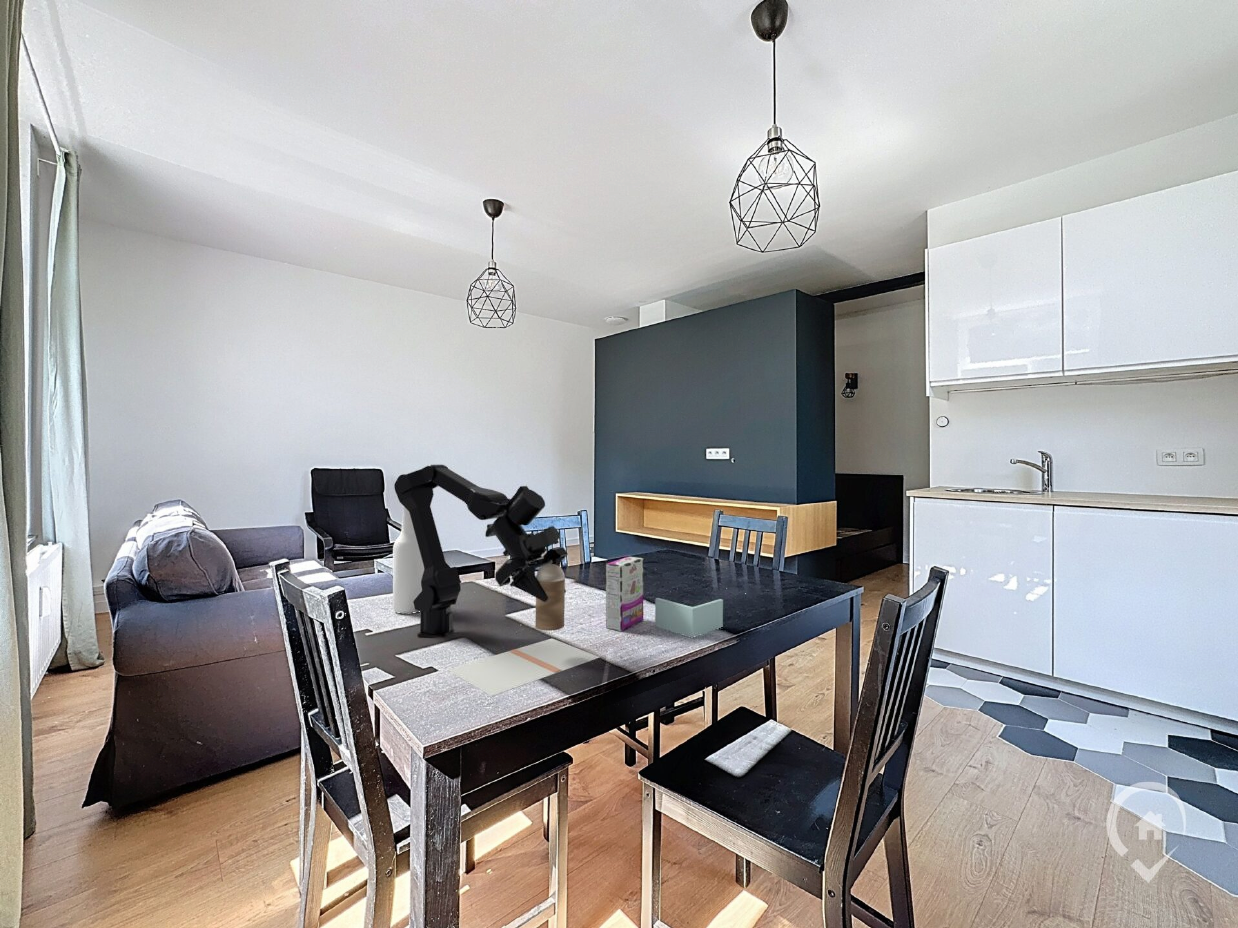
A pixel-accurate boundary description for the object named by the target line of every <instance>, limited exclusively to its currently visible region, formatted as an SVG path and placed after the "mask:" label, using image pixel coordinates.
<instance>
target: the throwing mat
mask: <svg viewBox="0 0 1238 928" xmlns="http://www.w3.org/2000/svg"><path fill="white" fill-rule="evenodd" d="M598 658H599V659H600V658H601V657H600V656H599V655H595V654H592V653H590V652H588V651H585V650H582V649H580V648H577V647H575V646H573V645H570V644H567V643H565V642H563V641H560V640H557V639H554V638H549V639H545V640H541V641H537V642H536V643H532V644H528V645H525V646H521V647H518V648H514V649H511V650H508V651H505V652H501V653H498V654H494V655H492V656H488V657H484V658H481V659H479V660H475V661H471V662H468V663H465V664H461V665H458V666H455V667H451V668H448V669H446V670H447V671H448V672H450V673H452V674H453V675H455V676H457V677H458V678H460V679H462V680H463V681H465V682H467V683H469V684H471V686H474V687H476V688H477V689H478V690H481V691H482V692H484V693H485V694H487V695H489V696H490V697H494V696H496V695H499V694H502V693H504V692H508V691H509V690H510V691H511V690H514V689H515V688H518V687H521V686H524V685H527V684H529V683H532V682H535V681H538V680H541V679H543V678H545V677H550V676H553V675H554V674H558V673H560V672H563V671H567V670H569V669H572V668H575V667H577V666H579V665H582V664H585V663H588V662H591V661H594V660H596V659H598Z"/></svg>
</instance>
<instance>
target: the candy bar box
mask: <svg viewBox="0 0 1238 928" xmlns="http://www.w3.org/2000/svg"><path fill="white" fill-rule="evenodd" d="M643 620H644V558H642V557H637V556H626V557H623V558H620V559H618V560H613V561H611V562H610V561H609V562H607V563H606V564H605V628H606V629H608V630H612V631H618V632H624V631H625V630H628V629H629V628H631V627H633V626H635V625H637V624H638V623H641V622H643Z"/></svg>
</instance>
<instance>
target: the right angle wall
mask: <svg viewBox="0 0 1238 928" xmlns="http://www.w3.org/2000/svg"><path fill="white" fill-rule="evenodd" d="M654 603H655V607H654V609H655V612H654V619H655V620H654V626H655V627H657V628H660V629H663V630H665V629H666V631H669V630H670V632H672V633H675V632H677V633H676V634H678V633H680V634H679V635H681V634H684V635H686V636H685V637H687V636H690V637H694V636H697V637H699V636H698V635H700V634H703V635H705V634H704V633H706V632H709V633H711V632H713V631H712V630H714V631H716V630H715V629H717V630H719V628H720V629H722V628H721V627H723V628H724V625H723V622H724V614H723V613H724V600H723V599H721V598H719V599H715V600H712V601H709V602H706V603H703V604H699V605H695V606H690V605H686V604H683V603H682V604H681V603H679V602H674V601H671V600H668V599H664V598H660V597H657V598H655V602H654ZM710 631H711V632H710ZM706 634H707V633H706ZM684 635H683V636H684ZM700 636H701V635H700ZM690 637H689V638H690Z"/></svg>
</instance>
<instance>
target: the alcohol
mask: <svg viewBox="0 0 1238 928" xmlns="http://www.w3.org/2000/svg"><path fill="white" fill-rule="evenodd" d="M401 518H402V520H401V529H400V534H399V536H397V538H396V540H395V541H394V543H393V546H392V609H393V611H394V613H396V612H400V613H413V612H419V611H418V610H415V607H414V603H413V601H414V600H415V599H416V597H417V596H418V595H419V594H420V593H421V591H422V586H421V579H422V576H423V572H424V565H423V561H422V558H421V554H420V550H419V546H418V543H417V539H416V535H415V531H414V528H413V524H412V520H411V516H410V513H409V511H408V510H407V509H406V508H405V507H404V506H403V505H402V517H401ZM419 613H420V612H419Z"/></svg>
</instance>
